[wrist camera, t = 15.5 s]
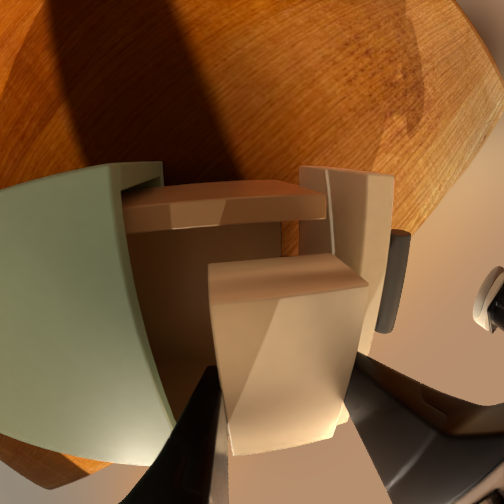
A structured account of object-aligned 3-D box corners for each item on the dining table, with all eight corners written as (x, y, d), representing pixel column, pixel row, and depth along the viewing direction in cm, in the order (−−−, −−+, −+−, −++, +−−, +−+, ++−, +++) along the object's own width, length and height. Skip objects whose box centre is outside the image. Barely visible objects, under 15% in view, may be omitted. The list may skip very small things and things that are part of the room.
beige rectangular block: (207, 262, 8) (208, 303, 6) (331, 252, 9) (371, 283, 6) (226, 411, 11) (232, 456, 8) (314, 397, 11) (332, 437, 9)
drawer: (381, 168, 15) (466, 182, 9) (361, 339, 19) (408, 399, 13) (75, 185, 12) (-2, 208, 6) (119, 367, 17) (98, 443, 10)
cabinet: (162, 161, 14) (109, 163, 6) (190, 363, 18) (191, 467, 10) (-18, 200, 12) (-100, 232, 4) (31, 359, 16) (-9, 429, 8)
